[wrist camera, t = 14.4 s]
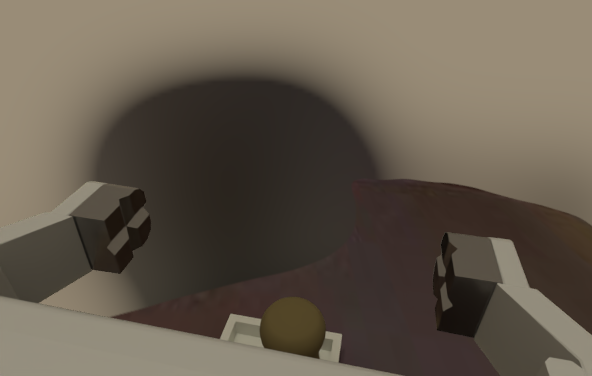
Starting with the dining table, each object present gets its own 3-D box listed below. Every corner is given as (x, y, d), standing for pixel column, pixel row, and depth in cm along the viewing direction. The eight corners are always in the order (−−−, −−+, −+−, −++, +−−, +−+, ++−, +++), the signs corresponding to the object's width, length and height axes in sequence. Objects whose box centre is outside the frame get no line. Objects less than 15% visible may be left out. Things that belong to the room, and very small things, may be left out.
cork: (244, 406, 36) (237, 326, 30) (279, 354, 41) (279, 275, 35) (305, 442, 34) (309, 363, 28) (335, 382, 38) (345, 303, 32)
